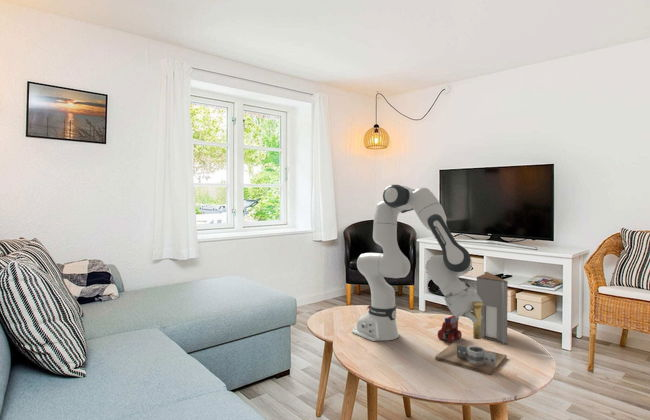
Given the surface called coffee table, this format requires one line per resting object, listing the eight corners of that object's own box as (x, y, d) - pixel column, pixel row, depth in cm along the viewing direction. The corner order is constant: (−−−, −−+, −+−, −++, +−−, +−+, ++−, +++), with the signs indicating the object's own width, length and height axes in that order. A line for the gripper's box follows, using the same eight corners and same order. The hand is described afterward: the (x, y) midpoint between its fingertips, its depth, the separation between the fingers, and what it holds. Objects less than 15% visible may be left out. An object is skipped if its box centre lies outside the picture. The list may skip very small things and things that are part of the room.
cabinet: (507, 344, 173) (507, 281, 172) (485, 344, 173) (485, 281, 172) (487, 328, 194) (487, 271, 193) (467, 328, 194) (467, 272, 193)
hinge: (454, 359, 156) (454, 347, 155) (460, 354, 160) (460, 342, 160) (492, 369, 146) (492, 356, 146) (497, 364, 151) (497, 351, 151)
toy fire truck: (434, 340, 180) (434, 317, 179) (450, 333, 187) (450, 312, 187) (447, 344, 174) (447, 321, 174) (463, 337, 182) (463, 315, 182)
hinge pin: (469, 337, 154) (469, 302, 153) (475, 335, 156) (475, 300, 156) (479, 340, 151) (479, 304, 150) (484, 338, 153) (484, 302, 153)
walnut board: (435, 359, 159) (435, 356, 159) (453, 345, 173) (453, 342, 173) (491, 375, 145) (491, 371, 145) (506, 358, 159) (506, 355, 159)
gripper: (448, 291, 150) (472, 322, 144) (471, 282, 165) (494, 310, 159) (437, 300, 154) (461, 331, 147) (461, 291, 168) (483, 318, 162)
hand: (478, 320), depth 153 cm, fingers closed on hinge pin, 3 cm apart
